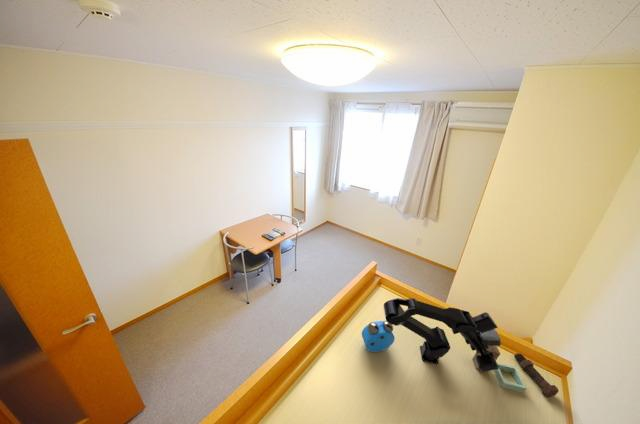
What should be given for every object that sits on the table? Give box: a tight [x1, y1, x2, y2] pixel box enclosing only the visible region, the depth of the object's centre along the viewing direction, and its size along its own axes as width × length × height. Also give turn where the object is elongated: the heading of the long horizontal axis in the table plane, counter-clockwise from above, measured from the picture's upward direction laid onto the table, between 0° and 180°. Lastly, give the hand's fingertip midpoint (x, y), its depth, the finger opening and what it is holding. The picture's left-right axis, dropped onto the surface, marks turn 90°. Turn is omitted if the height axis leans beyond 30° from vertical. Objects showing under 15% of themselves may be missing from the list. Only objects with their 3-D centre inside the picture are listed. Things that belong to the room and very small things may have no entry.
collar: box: [492, 362, 528, 393], centre depth 91 cm, size 8×8×3 cm
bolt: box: [513, 352, 559, 398], centre depth 92 cm, size 6×5×15 cm
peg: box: [472, 345, 501, 373], centre depth 93 cm, size 4×4×13 cm
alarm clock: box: [361, 320, 395, 353], centre depth 98 cm, size 13×6×15 cm, turn 100°
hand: (489, 357), depth 93 cm, fingers closed on peg, 4 cm apart
